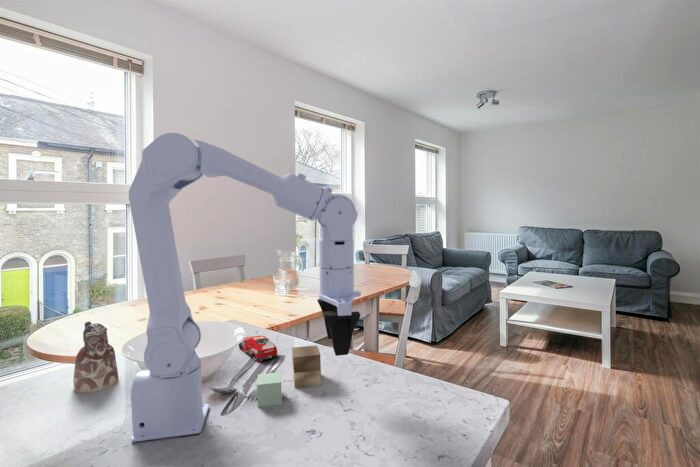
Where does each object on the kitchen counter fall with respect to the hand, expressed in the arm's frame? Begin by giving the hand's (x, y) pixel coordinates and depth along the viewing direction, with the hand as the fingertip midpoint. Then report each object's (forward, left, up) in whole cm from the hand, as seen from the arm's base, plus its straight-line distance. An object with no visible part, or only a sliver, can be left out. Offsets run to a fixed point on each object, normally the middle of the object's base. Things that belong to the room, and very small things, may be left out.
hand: (337, 345), depth 63 cm
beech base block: (-5, +9, -10) cm, 15 cm away
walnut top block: (-5, +10, -7) cm, 13 cm away
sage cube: (-12, +3, -10) cm, 16 cm away
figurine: (-45, +17, -10) cm, 49 cm away
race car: (-15, +26, -10) cm, 32 cm away
